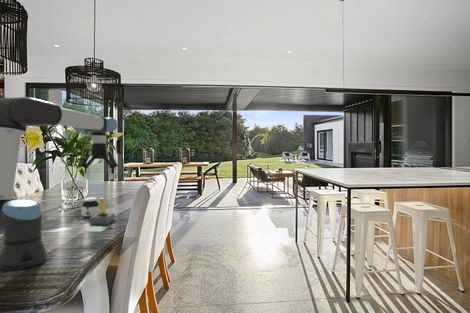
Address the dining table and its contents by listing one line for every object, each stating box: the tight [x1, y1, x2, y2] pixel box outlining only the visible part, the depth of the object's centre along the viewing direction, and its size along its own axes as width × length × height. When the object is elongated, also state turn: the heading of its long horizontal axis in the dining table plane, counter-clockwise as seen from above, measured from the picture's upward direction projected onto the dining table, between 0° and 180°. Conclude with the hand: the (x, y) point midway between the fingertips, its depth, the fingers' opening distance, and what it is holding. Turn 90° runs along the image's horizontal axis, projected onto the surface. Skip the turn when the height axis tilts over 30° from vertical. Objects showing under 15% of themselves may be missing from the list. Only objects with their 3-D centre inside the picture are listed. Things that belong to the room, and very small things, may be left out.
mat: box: [83, 225, 109, 233], centre depth 151 cm, size 9×9×1 cm
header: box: [89, 212, 116, 225], centre depth 165 cm, size 10×10×4 cm
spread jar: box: [81, 196, 99, 219], centre depth 179 cm, size 12×11×12 cm
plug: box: [98, 197, 107, 216], centre depth 165 cm, size 4×4×14 cm
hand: (99, 179), depth 164 cm, fingers open, 13 cm apart
